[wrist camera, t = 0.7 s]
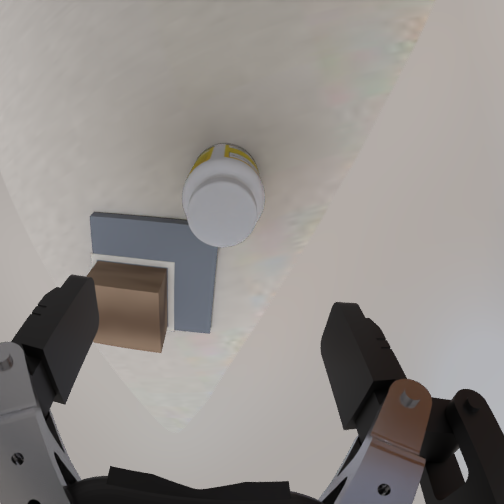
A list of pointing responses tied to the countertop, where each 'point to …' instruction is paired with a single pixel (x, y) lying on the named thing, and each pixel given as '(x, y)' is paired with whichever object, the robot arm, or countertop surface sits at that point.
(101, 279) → the walnut block
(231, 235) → the supplement bottle
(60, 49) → the countertop surface
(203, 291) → the mat
